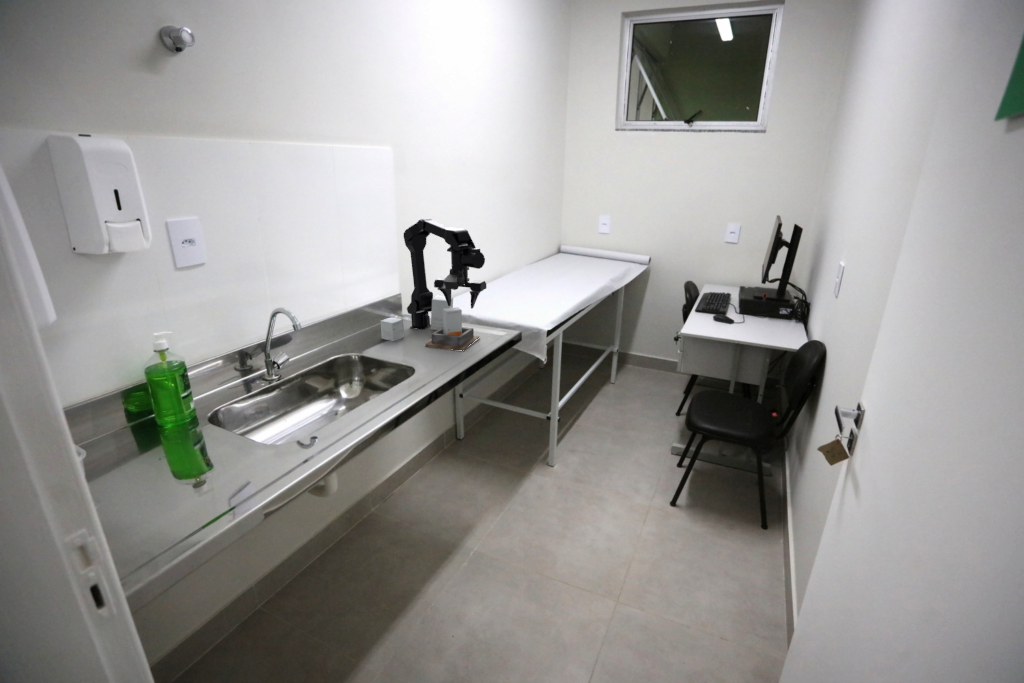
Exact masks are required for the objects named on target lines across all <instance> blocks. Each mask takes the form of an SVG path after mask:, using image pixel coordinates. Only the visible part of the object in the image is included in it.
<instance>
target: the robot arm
mask: <svg viewBox="0 0 1024 683" xmlns="http://www.w3.org/2000/svg"><path fill="white" fill-rule="evenodd" d="M431 234H432V235H434V236H437V237H439V238H441V239H443V240H444V242H445V243H446V244H448V246H449V247H448V248H447V250H446V252H450V256H451V257H450V258H451V261H450V262H451V268H450V269H449V274H448V275H447V276H446V277H442V276H441V277H438V278H436V279H434V282H433V287H434V288H437V290H438V291H440V292H441V293H442V294H443V296H445V299H446V301H447V303H448V306H451V297H452V290H454V291H457V290H458V289H459V288H469V290H470V291H469V294H470V309H474V307H475V304H476V303H477V300H478V297H479V295H480V294H481V292H483V291H484V290H485V289H487V282H486V281H485V280H476V279H475V280H473V281H472V282H470V278H469V270H470V268H471V269H477V270H479V269H481V268H482V267H483V266H484V265H485V262H486V258H485V255H484V254H483V252H481V248H479V247H478V248H477V247H476V245H475V242H474V241H473V239H472V237H471V234H470V233H469V231H468V230H467V229H465V228H460V227H451V226H447V225H445V224H442V223H440V222H438V221H435V220H433V219H431V218H421V219H419V220H418V221H417V222H416V223H414V224H412V225H411V226H409V227H408V228H406V229H405V230H404V232H403V241H404V245H405V247H406V248H407V249H408V250H409V253H410V259H411V261H410V262H411V270H412V271H411V272H412V279H413V281H412V282H413V291H412V293H411V295H410V303H409V304H408V306H407V307H406V311H407V313H408V314H410V315H411V318H410V319H411V326H409V328H410V329H414V328H417V329H416V330H422V329H424V330H426V329H428V328H429V327H431V326H430V324H431V316H430V315H429V312H432V299H433V298H434V293H433V291H430V290H429V288H428V286H427V283H428V282H427V276H426V275H427V274H426V266H425V265H426V263H425V255H424V250H425V248H426V246H427V238H428V237H429V236H430V235H431ZM428 326H429V327H428ZM425 328H426V329H425Z"/></svg>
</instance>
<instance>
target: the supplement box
mask: <svg viewBox="0 0 1024 683" xmlns="http://www.w3.org/2000/svg"><path fill="white" fill-rule="evenodd" d="M447 308H454V296H451V306H448V303H447V301H446V299H445V296H444V295H439V294H435V296H433V299H432V311H430V312H431V316H430V324H431V326H430V330H434V331H435V330H436V331H437V330H439V329H440V328H442V327H443V309H447Z"/></svg>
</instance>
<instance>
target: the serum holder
mask: <svg viewBox="0 0 1024 683" xmlns="http://www.w3.org/2000/svg"><path fill="white" fill-rule="evenodd" d="M474 331H475V330H474V328H473V327H463V326H462V334H461V335H460V336H453V335H444V330H443V327H442V328H440V329H439V330H436V331H434V332H432V333H431V336H430V338H431V340H430V341H428V342H426V343H425V346H424V347H425V348H432V349H433V348H434V349H439V348H440V350H447V349H453V350H452V351H455V350H462V351H463V350H464V349H466V348H467V347H468V346H469V345H470V344H472V343H473V342H474V341H475V340H476V339H478V338H479V337H480V336H479V335H474ZM472 345H473V344H472ZM468 348H469V347H468ZM468 348H467V349H468ZM467 349H466V350H467ZM462 351H461V352H462ZM464 351H465V350H464ZM464 351H463V352H464Z"/></svg>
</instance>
